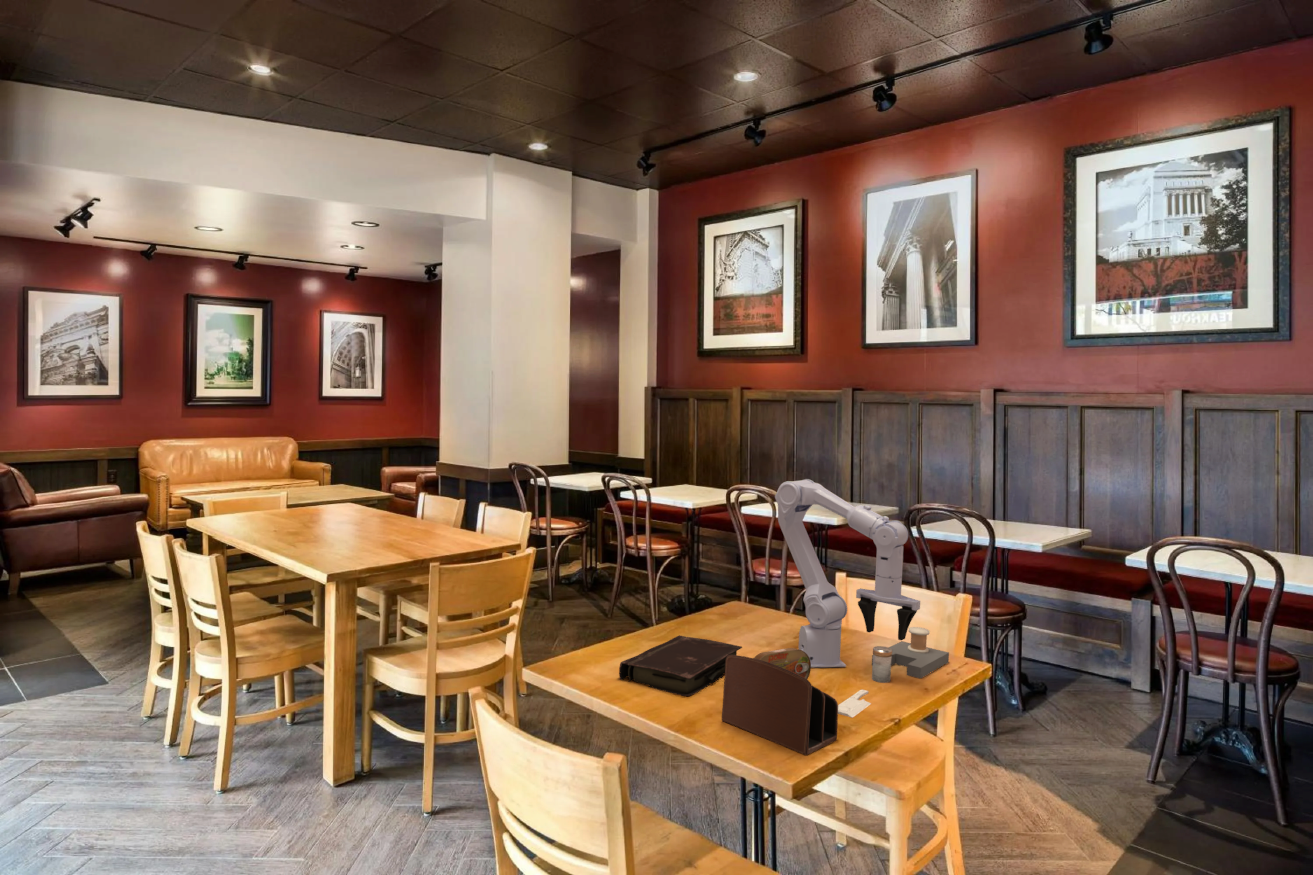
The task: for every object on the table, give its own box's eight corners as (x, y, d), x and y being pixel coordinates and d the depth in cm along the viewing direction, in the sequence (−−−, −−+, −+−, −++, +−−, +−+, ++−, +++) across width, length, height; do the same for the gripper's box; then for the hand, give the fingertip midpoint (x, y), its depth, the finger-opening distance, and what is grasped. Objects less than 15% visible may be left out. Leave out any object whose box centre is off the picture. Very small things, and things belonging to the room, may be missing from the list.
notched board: (920, 678, 184) (922, 645, 183) (871, 665, 192) (873, 634, 191) (948, 662, 196) (950, 631, 195) (901, 650, 204) (902, 621, 203)
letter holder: (806, 756, 142) (809, 677, 141) (720, 721, 156) (723, 649, 155) (837, 741, 149) (841, 665, 148) (753, 708, 163) (755, 639, 162)
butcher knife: (883, 698, 172) (883, 693, 171) (854, 720, 160) (854, 715, 160) (860, 692, 175) (861, 687, 175) (830, 713, 163) (831, 708, 163)
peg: (876, 682, 180) (877, 651, 180) (868, 676, 184) (869, 646, 184) (893, 682, 181) (895, 651, 180) (885, 676, 185) (887, 645, 184)
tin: (753, 696, 170) (755, 656, 169) (745, 690, 173) (747, 651, 172) (811, 686, 177) (812, 648, 176) (802, 681, 180) (803, 643, 179)
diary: (617, 682, 177) (618, 659, 177) (675, 653, 198) (676, 633, 198) (692, 700, 167) (692, 676, 167) (744, 667, 189) (745, 646, 188)
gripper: (927, 578, 180) (924, 638, 181) (867, 567, 190) (864, 624, 190) (913, 583, 175) (910, 645, 175) (852, 571, 184) (850, 630, 185)
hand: (885, 635), depth 182 cm, fingers open, 7 cm apart
